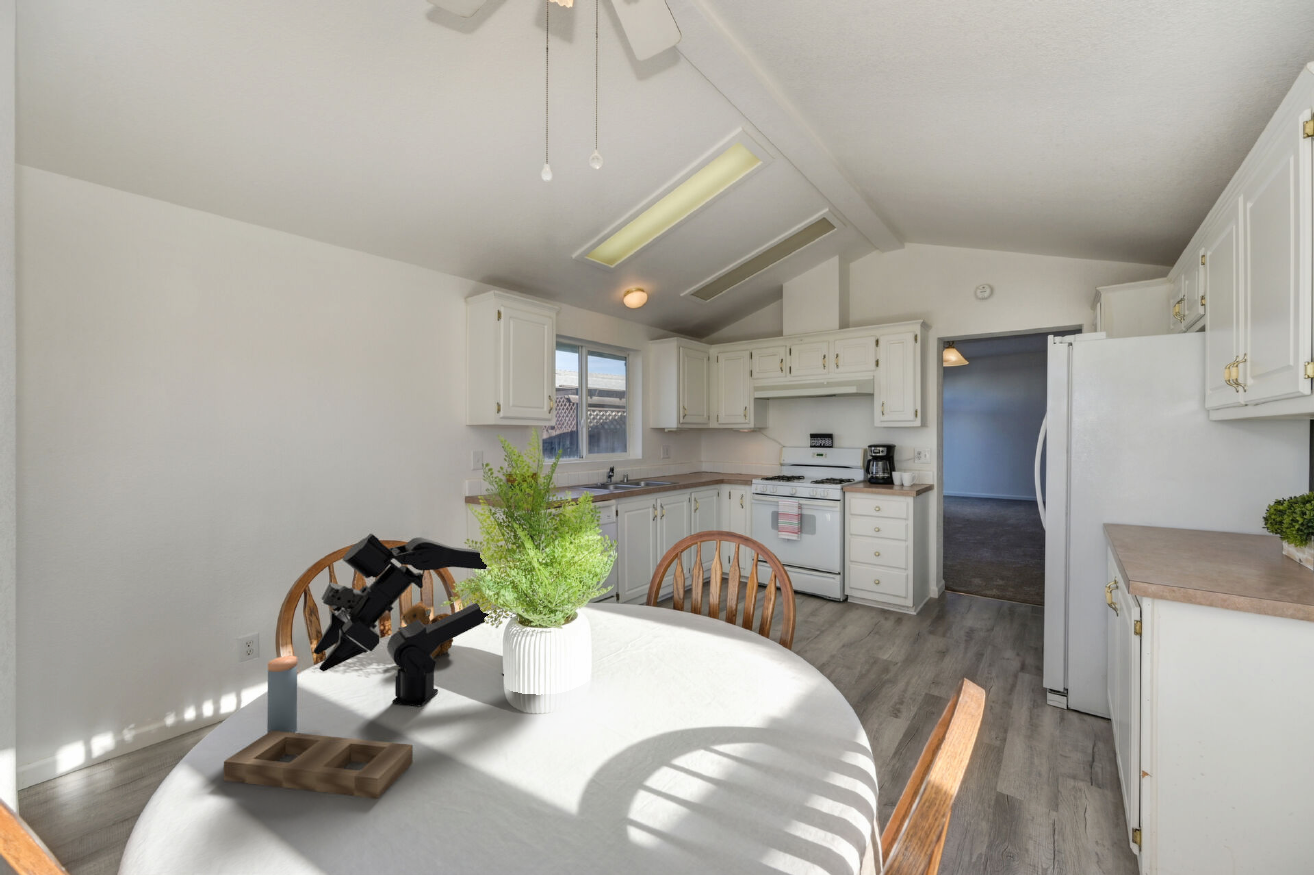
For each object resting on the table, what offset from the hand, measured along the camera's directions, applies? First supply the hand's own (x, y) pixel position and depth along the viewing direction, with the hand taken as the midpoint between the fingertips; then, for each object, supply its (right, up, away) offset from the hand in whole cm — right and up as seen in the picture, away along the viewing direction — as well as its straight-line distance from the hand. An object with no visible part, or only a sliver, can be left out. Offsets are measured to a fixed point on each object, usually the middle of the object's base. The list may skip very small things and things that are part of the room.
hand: (318, 661), depth 103 cm
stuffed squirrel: (+7, -12, +32) cm, 34 cm away
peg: (-5, -12, -3) cm, 13 cm away
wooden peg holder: (+9, -12, -14) cm, 21 cm away
